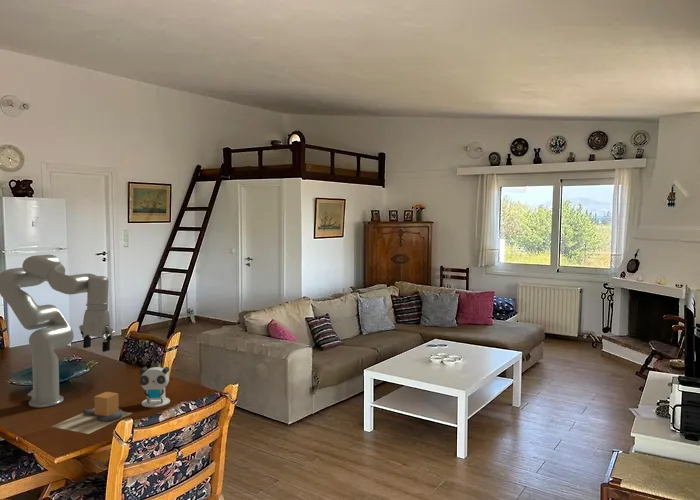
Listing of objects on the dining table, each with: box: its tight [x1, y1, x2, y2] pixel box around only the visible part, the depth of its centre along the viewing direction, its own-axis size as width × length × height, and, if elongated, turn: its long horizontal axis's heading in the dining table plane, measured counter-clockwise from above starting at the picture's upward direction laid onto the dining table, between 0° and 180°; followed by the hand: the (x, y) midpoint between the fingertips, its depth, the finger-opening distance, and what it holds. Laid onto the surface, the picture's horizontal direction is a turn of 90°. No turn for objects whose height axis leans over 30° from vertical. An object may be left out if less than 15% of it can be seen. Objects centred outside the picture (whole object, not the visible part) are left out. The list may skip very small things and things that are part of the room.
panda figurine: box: [138, 366, 171, 408], centre depth 225 cm, size 12×11×15 cm
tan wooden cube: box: [93, 391, 120, 416], centre depth 205 cm, size 6×6×7 cm
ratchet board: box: [51, 407, 133, 435], centre depth 203 cm, size 18×22×8 cm
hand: (96, 349), depth 213 cm, fingers open, 9 cm apart
